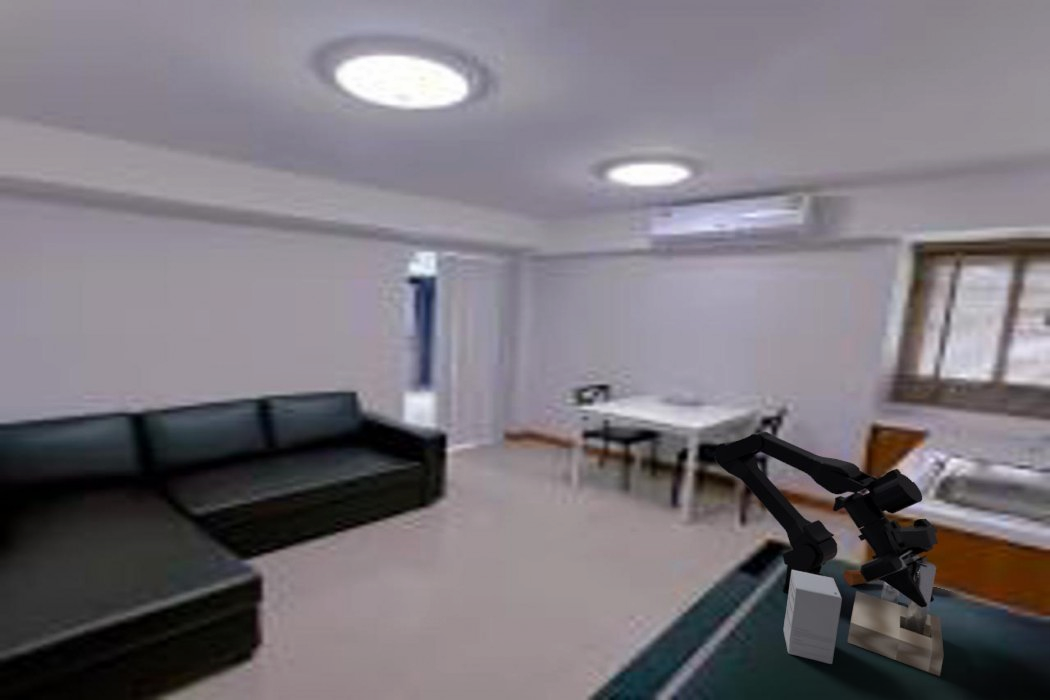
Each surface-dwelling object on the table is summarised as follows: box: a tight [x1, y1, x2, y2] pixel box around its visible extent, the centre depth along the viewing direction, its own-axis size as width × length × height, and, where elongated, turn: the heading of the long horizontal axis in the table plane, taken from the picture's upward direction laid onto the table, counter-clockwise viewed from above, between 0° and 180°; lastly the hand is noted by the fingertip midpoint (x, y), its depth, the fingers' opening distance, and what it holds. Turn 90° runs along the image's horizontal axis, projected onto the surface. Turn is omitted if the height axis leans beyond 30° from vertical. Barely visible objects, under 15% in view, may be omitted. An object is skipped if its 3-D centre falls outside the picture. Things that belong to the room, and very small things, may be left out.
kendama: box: [843, 569, 880, 587], centre depth 128 cm, size 6×6×20 cm
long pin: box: [904, 560, 937, 635], centre depth 104 cm, size 3×3×14 cm
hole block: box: [847, 590, 944, 677], centre depth 106 cm, size 14×14×4 cm
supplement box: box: [782, 570, 843, 665], centre depth 102 cm, size 7×7×13 cm
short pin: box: [880, 581, 901, 605], centre depth 120 cm, size 3×3×5 cm
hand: (928, 604), depth 103 cm, fingers closed on long pin, 3 cm apart
